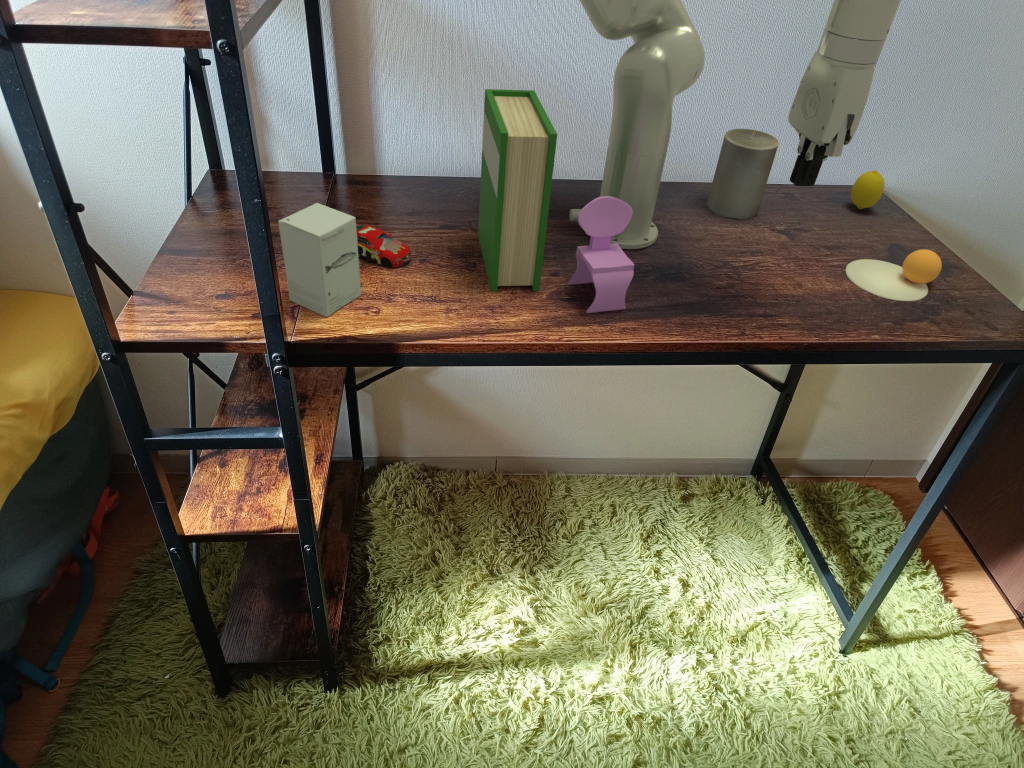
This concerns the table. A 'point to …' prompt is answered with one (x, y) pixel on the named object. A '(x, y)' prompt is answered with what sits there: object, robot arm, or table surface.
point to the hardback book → (515, 186)
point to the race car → (381, 247)
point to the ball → (922, 266)
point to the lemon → (867, 189)
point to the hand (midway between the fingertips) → (801, 183)
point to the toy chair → (604, 253)
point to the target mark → (884, 280)
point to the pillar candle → (742, 173)
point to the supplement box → (321, 258)
